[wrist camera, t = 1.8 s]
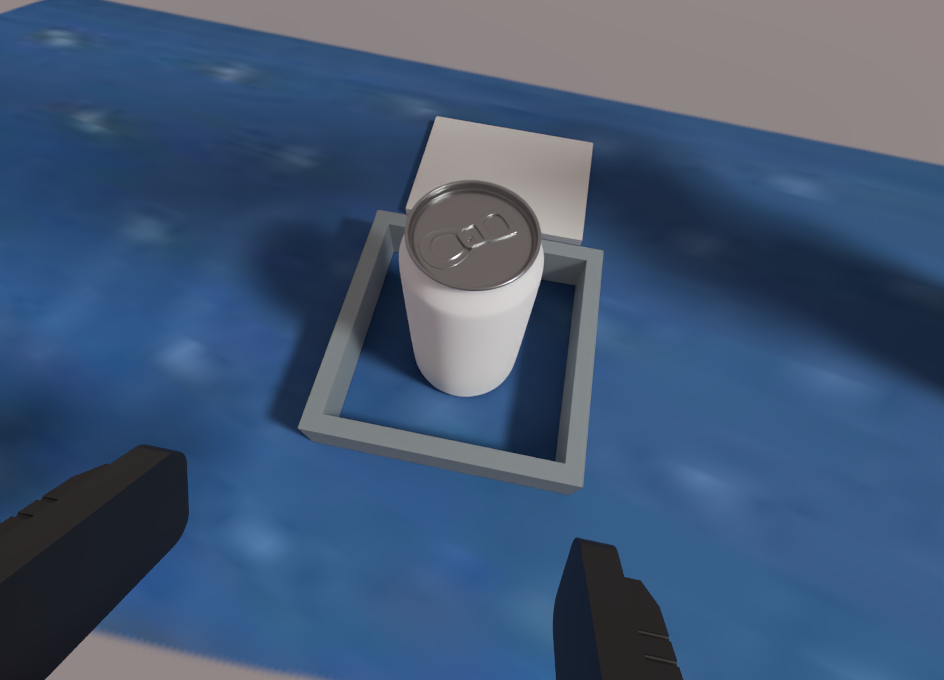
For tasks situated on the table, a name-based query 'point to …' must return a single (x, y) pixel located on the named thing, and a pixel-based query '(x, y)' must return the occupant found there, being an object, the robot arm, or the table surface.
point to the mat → (512, 170)
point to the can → (469, 283)
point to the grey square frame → (451, 455)
